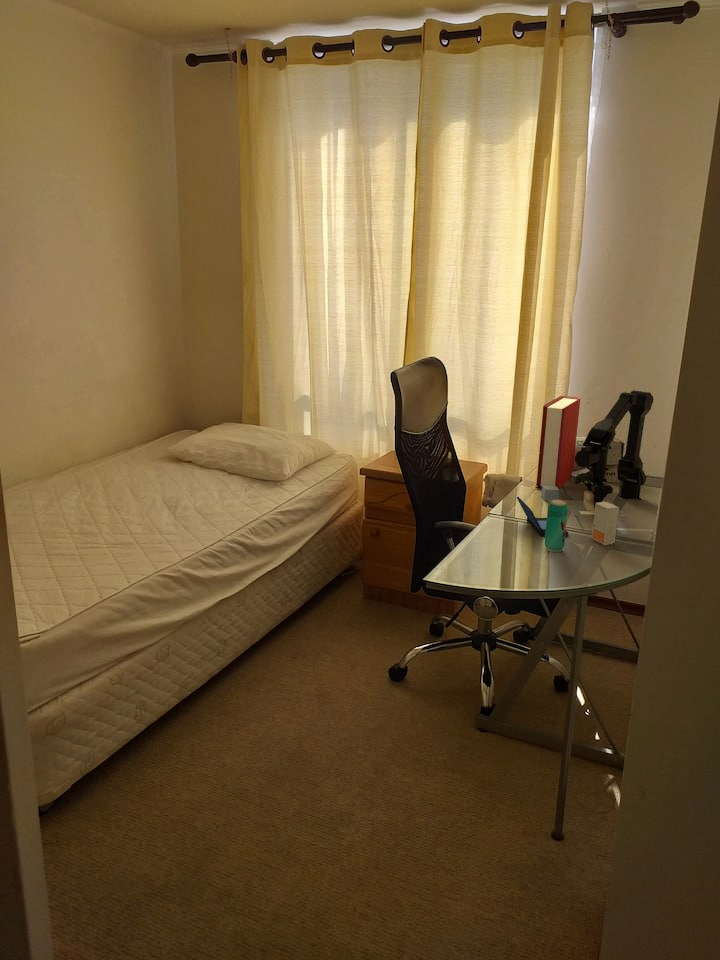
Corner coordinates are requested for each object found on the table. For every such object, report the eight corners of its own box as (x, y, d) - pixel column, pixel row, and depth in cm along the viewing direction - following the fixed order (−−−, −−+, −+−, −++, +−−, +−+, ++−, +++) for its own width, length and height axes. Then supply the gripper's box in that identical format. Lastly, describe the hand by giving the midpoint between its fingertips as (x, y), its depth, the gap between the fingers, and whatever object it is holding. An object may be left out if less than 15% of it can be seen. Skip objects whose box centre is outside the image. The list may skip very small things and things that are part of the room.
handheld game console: (569, 537, 234) (572, 509, 231) (527, 537, 233) (530, 509, 230) (553, 521, 249) (555, 494, 246) (513, 521, 248) (516, 494, 245)
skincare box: (590, 539, 232) (594, 502, 229) (601, 537, 233) (605, 501, 230) (604, 545, 226) (608, 508, 223) (615, 544, 228) (619, 506, 225)
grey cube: (554, 498, 273) (556, 485, 271) (557, 503, 268) (559, 489, 267) (541, 498, 273) (542, 485, 272) (544, 502, 268) (545, 489, 267)
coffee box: (620, 482, 295) (625, 443, 291) (604, 482, 296) (608, 442, 291) (613, 476, 304) (617, 438, 300) (597, 476, 304) (601, 437, 300)
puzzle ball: (600, 475, 306) (604, 439, 302) (566, 476, 303) (570, 440, 299) (583, 466, 320) (586, 432, 316) (550, 467, 317) (553, 432, 313)
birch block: (598, 506, 263) (600, 491, 262) (603, 510, 258) (605, 495, 256) (583, 505, 263) (584, 490, 262) (587, 510, 258) (589, 495, 256)
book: (556, 490, 283) (564, 407, 274) (536, 487, 286) (543, 405, 278) (573, 474, 306) (581, 397, 297) (554, 471, 310) (561, 395, 301)
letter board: (610, 502, 269) (611, 501, 269) (627, 518, 252) (627, 517, 252) (561, 501, 269) (561, 499, 269) (573, 517, 252) (574, 515, 252)
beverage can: (560, 554, 219) (565, 506, 215) (541, 550, 222) (545, 502, 217) (566, 548, 223) (571, 501, 219) (547, 544, 226) (552, 497, 222)
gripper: (567, 455, 265) (563, 497, 269) (582, 469, 247) (577, 513, 251) (599, 456, 265) (594, 498, 269) (615, 470, 247) (610, 514, 251)
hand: (593, 506), depth 260 cm, fingers closed on birch block, 5 cm apart
